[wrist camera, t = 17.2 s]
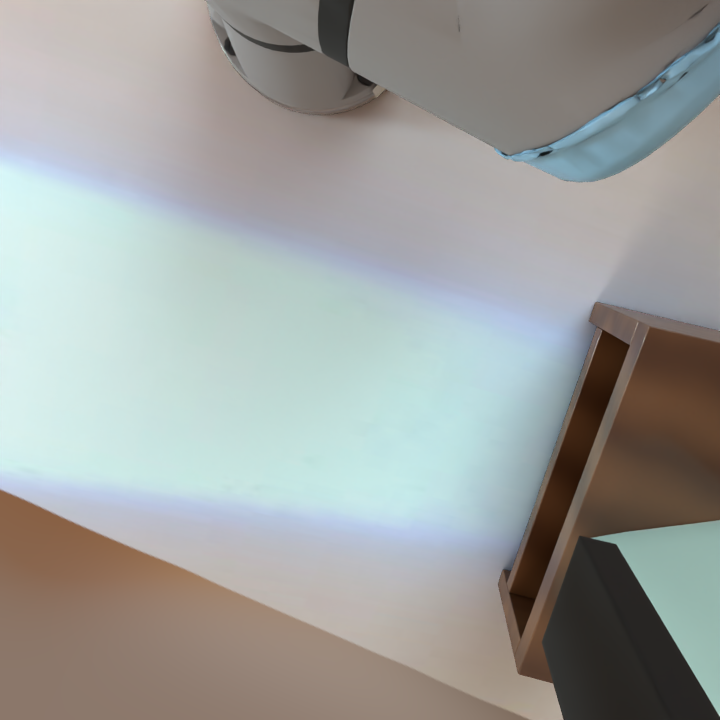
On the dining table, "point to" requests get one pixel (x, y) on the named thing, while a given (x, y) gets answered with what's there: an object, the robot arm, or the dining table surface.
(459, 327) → the dining table surface
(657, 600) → the planter
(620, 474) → the shelf
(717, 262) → the dining table surface
